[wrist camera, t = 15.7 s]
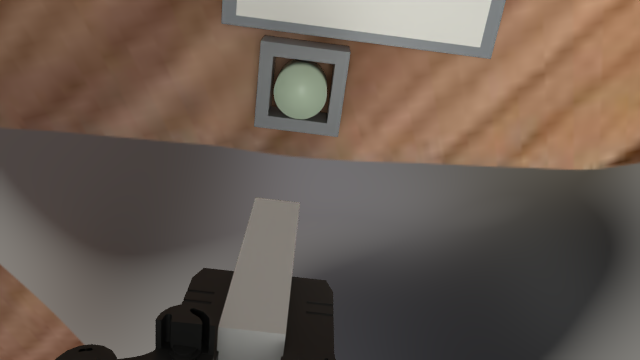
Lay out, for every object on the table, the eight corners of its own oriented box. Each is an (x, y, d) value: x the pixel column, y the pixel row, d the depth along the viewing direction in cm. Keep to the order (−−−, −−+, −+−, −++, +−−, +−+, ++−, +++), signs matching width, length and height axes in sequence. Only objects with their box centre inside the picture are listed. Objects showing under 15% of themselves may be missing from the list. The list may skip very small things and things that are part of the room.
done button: (275, 103, 39) (271, 115, 36) (280, 55, 37) (276, 63, 35) (323, 109, 39) (323, 122, 36) (330, 61, 37) (330, 70, 35)
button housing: (258, 116, 40) (254, 126, 37) (265, 35, 37) (260, 41, 35) (337, 126, 40) (337, 137, 37) (348, 46, 37) (350, 52, 35)
